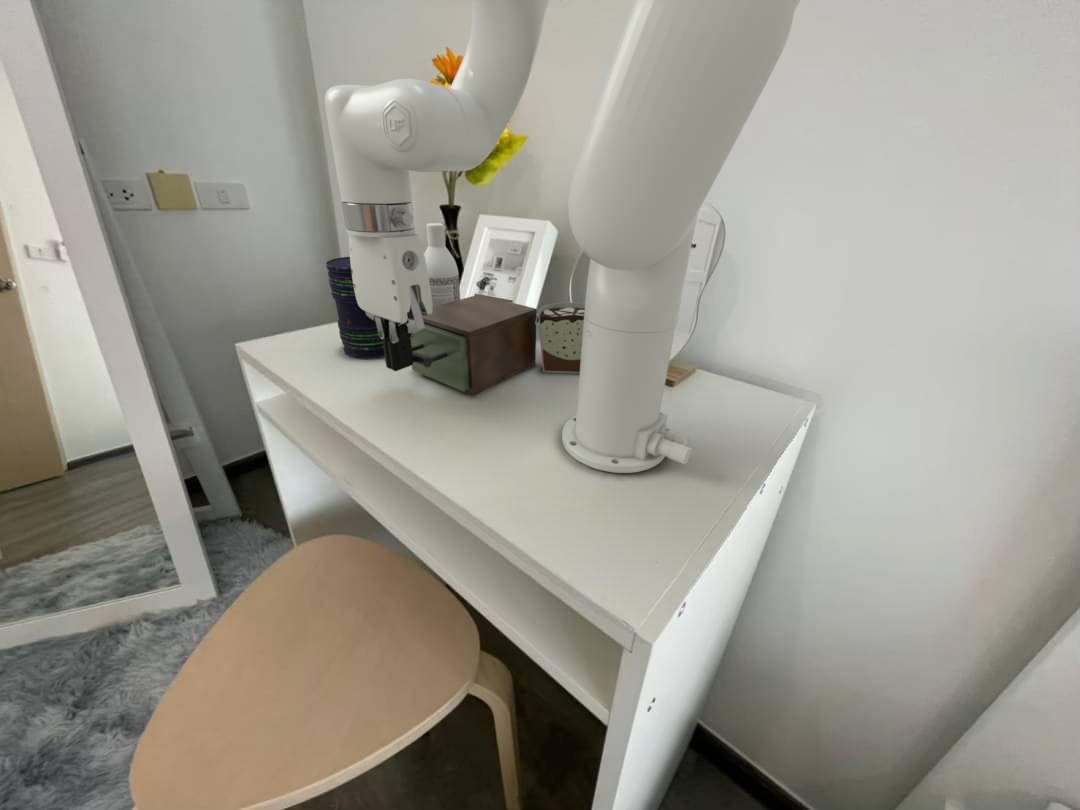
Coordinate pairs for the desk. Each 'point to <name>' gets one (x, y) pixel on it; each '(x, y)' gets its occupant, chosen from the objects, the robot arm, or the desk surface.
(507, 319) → the cabinet
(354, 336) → the storage jar
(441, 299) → the bath foam
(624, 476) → the desk surface
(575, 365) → the food container
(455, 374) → the drawer
